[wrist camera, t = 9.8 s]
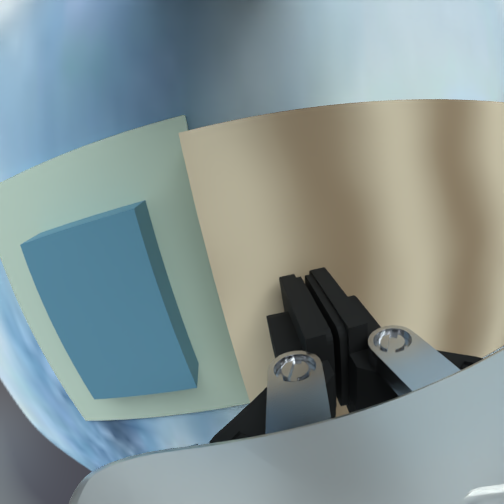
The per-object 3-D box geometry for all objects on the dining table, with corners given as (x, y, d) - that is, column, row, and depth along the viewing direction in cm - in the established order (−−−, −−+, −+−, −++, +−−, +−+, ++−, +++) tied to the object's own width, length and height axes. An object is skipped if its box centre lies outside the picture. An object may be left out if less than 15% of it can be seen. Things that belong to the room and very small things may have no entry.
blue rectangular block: (20, 244, 12) (40, 232, 13) (94, 399, 14) (103, 377, 16) (134, 208, 12) (145, 200, 14) (197, 387, 15) (198, 363, 17)
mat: (185, 115, 13) (184, 114, 13) (256, 397, 18) (257, 401, 18) (-15, 191, 13) (-19, 192, 12) (87, 416, 18) (85, 420, 18)
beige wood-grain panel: (525, 108, 14) (567, 111, 10) (521, 291, 18) (554, 312, 15) (190, 137, 13) (178, 132, 9) (253, 386, 18) (261, 436, 14)
